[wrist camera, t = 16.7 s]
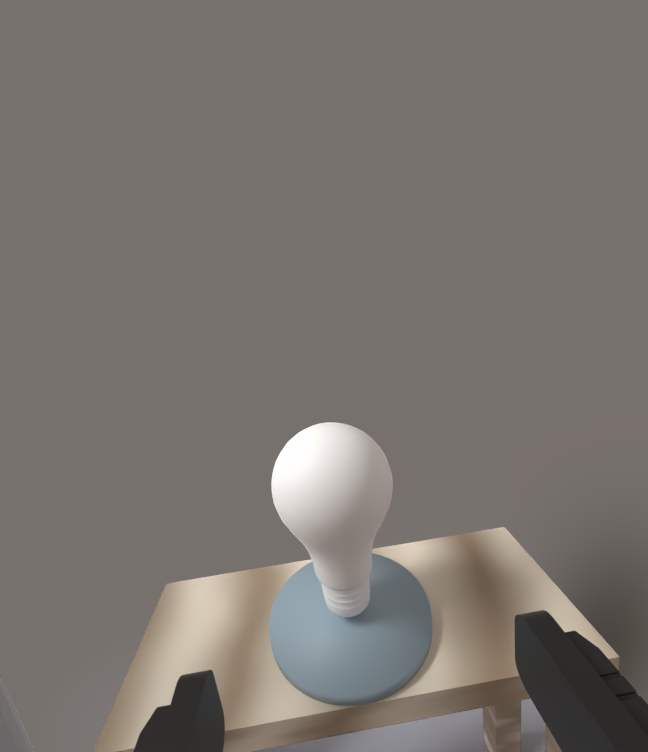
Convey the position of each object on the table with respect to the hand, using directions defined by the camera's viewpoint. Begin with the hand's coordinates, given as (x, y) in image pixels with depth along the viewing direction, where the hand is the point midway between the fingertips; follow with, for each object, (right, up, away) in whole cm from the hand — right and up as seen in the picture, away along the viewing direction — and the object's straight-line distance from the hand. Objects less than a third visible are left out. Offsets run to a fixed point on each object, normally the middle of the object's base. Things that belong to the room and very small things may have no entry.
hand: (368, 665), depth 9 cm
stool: (+3, -26, +16) cm, 31 cm away
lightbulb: (0, -6, +11) cm, 12 cm away
